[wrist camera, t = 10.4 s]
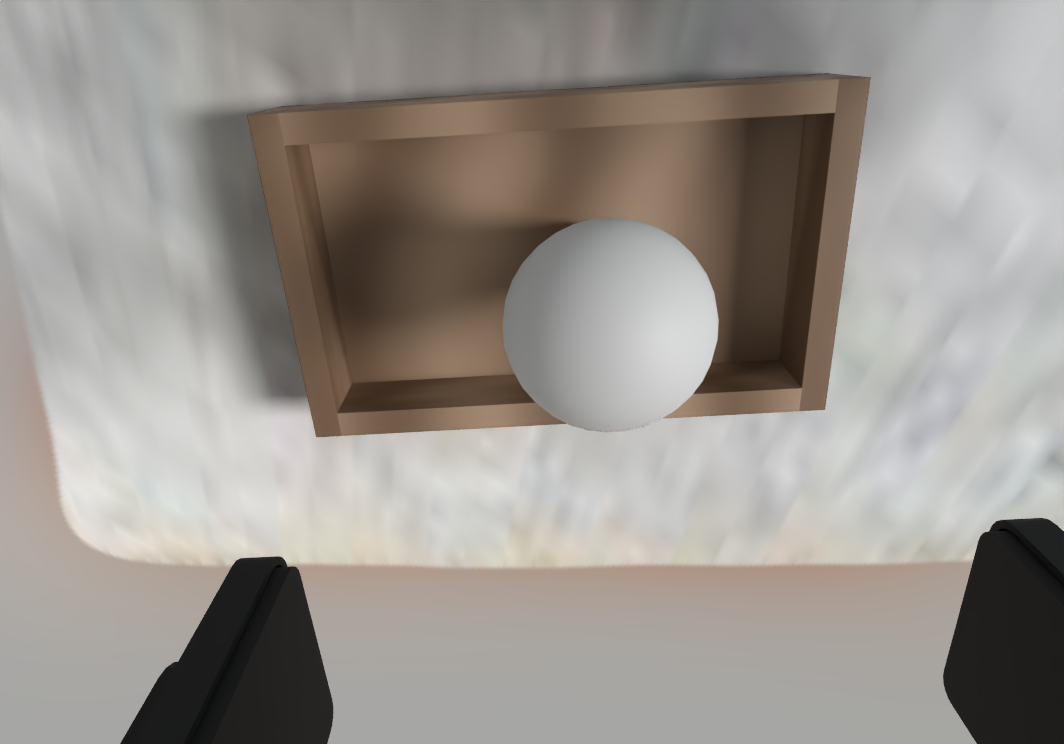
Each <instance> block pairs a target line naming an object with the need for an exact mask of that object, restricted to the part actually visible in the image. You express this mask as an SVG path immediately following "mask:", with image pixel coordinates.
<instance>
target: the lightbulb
mask: <svg viewBox="0 0 1064 744" xmlns="http://www.w3.org/2000/svg"><path fill="white" fill-rule="evenodd" d="M718 323H719V319H718V313H717V307H716V300H715V294H714V291H713V288H712V286H711V283H710V281H709V278H708V276H707V274H706V272H705V271H704V269H703V268H702V266H701V265H700V263H699V262H698V260H697V259H696V258H695V256H694V255H693V254H692V253H691V252H690V251H689V250H688V249H687V248H686V247H685V246H684V245H683V244H682V243H681V242H680V241H679V240H678V239H677V238H675V237H673V236H672V235H670V234H668V233H667V232H665V231H663V230H662V229H660V228H658V227H655V226H653V225H650V224H647V223H644V222H641V221H637V220H630V219H623V218H598V219H591V220H587V221H583V222H579V223H576V224H573V225H571V226H569V227H567V228H564V229H562V230H560V231H558V232H556V233H555V234H553V235H552V236H551V237H549V238H548V239H547V240H545V241H544V242H543V243H541V244H540V245H539V246H538V247H537V248H536V249H535V250H534V251H533V252H532V253H531V254H530V255H529V256H528V258H527V259H526V260H525V261H524V262H523V263H522V265H521V266H520V268H519V270H518V272H517V273H516V275H515V277H514V278H513V280H512V282H511V285H510V288H509V291H508V294H507V297H506V299H505V307H504V315H503V338H504V347H505V350H506V353H507V357H508V360H509V363H510V366H511V368H512V370H513V372H514V373H515V375H516V377H517V379H518V381H519V382H520V384H521V386H522V388H523V389H524V390H525V391H526V392H527V393H528V395H529V396H530V397H531V398H532V399H533V400H534V401H535V402H536V403H537V404H538V405H539V406H541V407H542V408H543V409H544V410H546V411H547V412H548V413H550V414H551V415H552V416H553V417H555V418H557V419H559V420H561V421H563V422H565V423H567V424H569V425H572V426H575V427H578V428H582V429H585V430H590V431H599V432H618V431H627V430H632V429H636V428H640V427H644V426H646V425H649V424H651V423H654V422H656V421H658V420H661V419H662V418H664V417H666V416H667V415H669V414H670V413H672V412H673V411H675V410H677V409H678V408H679V407H680V406H681V405H682V404H683V403H684V402H685V401H687V400H688V399H689V398H690V397H691V396H692V394H693V393H694V392H695V390H696V389H697V388H698V387H699V385H700V384H701V383H702V381H703V379H704V377H705V375H706V373H707V371H708V369H709V367H710V365H711V362H712V358H713V354H714V351H715V347H716V343H717V340H718Z"/></svg>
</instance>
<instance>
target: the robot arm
mask: <svg viewBox="0 0 1064 744" xmlns="http://www.w3.org/2000/svg"><path fill="white" fill-rule="evenodd" d="M943 679H944V687H945V690H946V693H947V696H948V698H949V700H950V702H951V704H952V705H953V707H954V709H955V710H956V711H957V713H958V715H959V716H960V718H961V720H962V721H963V723H964V724H965V726H966V727H967V729H968V730H969V732H970V734H971V735H972V737H973V738H974V740H975V741H976V743H977V744H1064V531H1063V530H1061V529H1060V528H1059V527H1058V526H1057V525H1056V524H1054V523H1053V522H1052V521H1050V520H1048V519H1044V518H1033V519H1013V520H1000V521H996V522H995V523H994V524H993V525H992V527H991V529H990V531H989V532H985V533H983V534H982V535H981V537H980V539H979V541H978V545H977V549H976V553H975V556H974V560H973V564H972V568H971V572H970V575H969V579H968V583H967V586H966V591H965V594H964V598H963V602H962V605H961V609H960V613H959V617H958V620H957V624H956V628H955V632H954V635H953V639H952V643H951V646H950V650H949V654H948V658H947V662H946V666H945V669H944V675H943ZM332 721H333V703H332V698H331V693H330V689H329V686H328V682H327V678H326V674H325V670H324V666H323V662H322V659H321V654H320V650H319V647H318V642H317V639H316V635H315V631H314V627H313V623H312V619H311V615H310V611H309V608H308V604H307V599H306V596H305V592H304V588H303V584H302V580H301V576H300V573H299V570H298V569H297V568H296V567H287V564H286V562H285V560H284V559H283V558H282V557H259V558H240V559H239V560H237V561H236V562H235V563H234V564H233V566H232V567H231V569H230V571H229V573H228V575H227V576H226V578H225V580H224V582H223V583H222V585H221V587H220V589H219V591H218V592H217V594H216V596H215V597H214V599H213V601H212V603H211V605H210V606H209V608H208V610H207V612H206V614H205V615H204V617H203V619H202V621H201V622H200V624H199V626H198V628H197V629H196V631H195V633H194V635H193V637H192V638H191V640H190V642H189V644H188V645H187V647H186V649H185V651H184V653H183V654H182V656H181V658H180V660H179V661H178V662H174V663H172V664H171V665H170V666H168V667H167V668H166V669H165V670H164V671H163V673H162V674H161V675H160V677H159V678H158V680H157V682H156V683H155V685H154V687H153V688H152V690H151V692H150V693H149V695H148V697H147V699H146V700H145V702H144V704H143V706H142V707H141V709H140V711H139V712H138V714H137V716H136V718H135V720H134V721H133V723H132V724H131V726H130V728H129V730H128V731H127V733H126V735H125V737H124V738H123V740H122V742H121V744H327V742H328V739H329V735H330V731H331V727H332Z"/></svg>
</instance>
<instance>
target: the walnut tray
mask: <svg viewBox="0 0 1064 744" xmlns="http://www.w3.org/2000/svg"><path fill="white" fill-rule="evenodd" d="M870 78H871V77H860V76H849V75H839V74H828V73H827V74H810V75H794V76H777V77H761V78H744V79H728V80H711V81H695V82H678V83H662V84H645V85H629V86H612V87H596V88H579V89H562V90H546V91H529V92H513V93H496V94H480V95H463V96H447V97H430V98H414V99H397V100H381V101H364V102H348V103H331V104H315V105H298V106H282V107H277V108H273V109H269V110H265V111H262V112H258V113H254V114H250V115H247V117H248V121H249V126H250V131H251V135H252V140H253V145H254V149H255V154H256V159H257V163H258V168H259V173H260V177H261V182H262V187H263V191H264V196H265V201H266V205H267V210H268V215H269V219H270V224H271V229H272V233H273V238H274V242H275V247H276V252H277V256H278V261H279V266H280V270H281V275H282V280H283V284H284V289H285V294H286V298H287V303H288V308H289V312H290V317H291V322H292V326H293V331H294V336H295V340H296V345H297V350H298V354H299V359H300V364H301V368H302V373H303V378H304V382H305V387H306V392H307V396H308V401H309V406H310V410H311V415H312V420H313V424H314V429H315V434H316V437H329V436H348V435H366V434H385V433H403V432H422V431H440V430H459V429H477V428H496V427H514V426H533V425H551V424H567V423H565V422H563V421H561V420H559V419H557V418H555V417H553V416H552V415H551V414H550V413H548V412H547V411H546V410H544V409H543V408H542V407H541V406H539V405H538V404H537V403H536V402H535V401H534V400H533V399H532V398H531V397H530V396H529V395H528V393H527V392H526V391H525V390H524V389H523V388H522V386H521V384H520V382H519V381H518V379H517V377H516V375H515V373H514V372H513V370H512V368H511V366H510V363H509V360H508V357H507V353H506V350H505V347H504V338H503V315H504V307H505V299H506V297H507V294H508V291H509V288H510V285H511V282H512V280H513V278H514V277H515V275H516V273H517V272H518V270H519V268H520V266H521V265H522V263H523V262H524V261H525V260H526V259H527V258H528V256H529V255H530V254H531V253H532V252H533V251H534V250H535V249H536V248H537V247H538V246H539V245H540V244H541V243H543V242H544V241H545V240H547V239H548V238H549V237H551V236H552V235H553V234H555V233H556V232H558V231H560V230H562V229H564V228H567V227H569V226H571V225H573V224H576V223H579V222H583V221H587V220H591V219H598V218H623V219H630V220H637V221H641V222H644V223H647V224H650V225H653V226H655V227H658V228H660V229H662V230H663V231H665V232H667V233H668V234H670V235H672V236H673V237H675V238H677V239H678V240H679V241H680V242H681V243H682V244H683V245H684V246H685V247H686V248H687V249H688V250H689V251H690V252H691V253H692V254H693V255H694V256H695V258H696V259H697V260H698V262H699V263H700V265H701V266H702V268H703V269H704V271H705V272H706V274H707V276H708V278H709V281H710V283H711V286H712V288H713V291H714V294H715V300H716V307H717V313H718V319H719V323H718V340H717V343H716V347H715V351H714V354H713V358H712V362H711V365H710V367H709V369H708V371H707V373H706V375H705V377H704V379H703V381H702V383H701V384H700V385H699V387H698V388H697V389H696V390H695V392H694V393H693V394H692V396H691V397H690V398H689V399H688V400H687V401H685V402H684V403H683V404H682V405H681V406H680V407H679V408H678V409H677V410H675V411H673V412H672V413H670V414H669V415H667V416H666V417H664V418H681V417H699V416H718V415H736V414H755V413H773V412H792V411H810V410H825V406H826V398H827V391H828V384H829V377H830V369H831V362H832V355H833V347H834V340H835V333H836V326H837V318H838V311H839V304H840V297H841V289H842V282H843V275H844V267H845V260H846V253H847V246H848V238H849V231H850V224H851V216H852V209H853V202H854V195H855V187H856V180H857V173H858V166H859V158H860V151H861V144H862V136H863V129H864V122H865V115H866V107H867V100H868V93H869V86H870Z"/></svg>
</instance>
